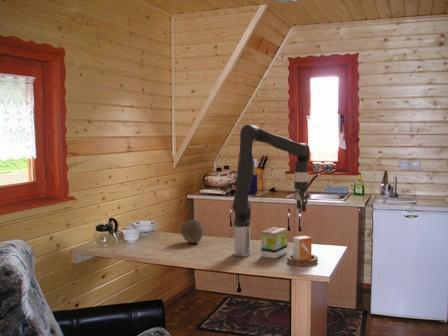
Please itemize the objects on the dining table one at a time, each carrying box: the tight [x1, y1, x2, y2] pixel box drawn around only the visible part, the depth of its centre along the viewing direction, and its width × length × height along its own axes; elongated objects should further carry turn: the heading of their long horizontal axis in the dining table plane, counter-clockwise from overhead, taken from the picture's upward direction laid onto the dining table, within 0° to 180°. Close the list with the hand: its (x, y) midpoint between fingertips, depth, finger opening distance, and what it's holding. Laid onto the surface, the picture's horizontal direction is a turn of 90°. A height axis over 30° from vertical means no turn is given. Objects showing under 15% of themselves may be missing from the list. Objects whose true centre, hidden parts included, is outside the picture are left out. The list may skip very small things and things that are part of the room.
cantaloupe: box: [181, 219, 204, 244], centre depth 315 cm, size 14×14×15 cm
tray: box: [286, 253, 319, 267], centre depth 268 cm, size 16×16×3 cm
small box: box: [292, 235, 313, 260], centre depth 267 cm, size 8×6×13 cm
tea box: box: [260, 226, 288, 260], centre depth 283 cm, size 15×10×15 cm, turn 148°
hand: (301, 210), depth 266 cm, fingers open, 8 cm apart
